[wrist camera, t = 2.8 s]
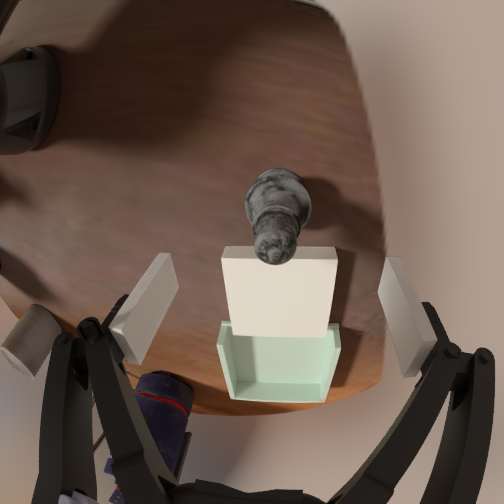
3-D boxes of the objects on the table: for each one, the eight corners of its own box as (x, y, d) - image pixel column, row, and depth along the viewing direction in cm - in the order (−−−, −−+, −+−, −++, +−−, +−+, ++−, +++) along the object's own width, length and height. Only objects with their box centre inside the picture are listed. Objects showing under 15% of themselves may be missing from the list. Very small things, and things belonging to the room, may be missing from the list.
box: (221, 320, 37) (215, 342, 34) (338, 323, 35) (341, 345, 32) (234, 380, 46) (230, 398, 42) (323, 383, 44) (324, 402, 40)
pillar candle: (32, 318, 48) (1, 363, 35) (29, 295, 43) (-8, 344, 30) (62, 341, 50) (34, 389, 37) (62, 320, 45) (28, 375, 33)
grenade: (132, 373, 51) (85, 492, 26) (162, 362, 46) (111, 508, 21) (179, 404, 56) (147, 515, 30) (214, 397, 51) (184, 528, 26)
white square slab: (225, 245, 31) (221, 258, 29) (334, 246, 29) (337, 259, 27) (236, 321, 37) (233, 335, 35) (324, 323, 36) (325, 337, 33)
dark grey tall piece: (241, 175, 26) (211, 232, 16) (299, 158, 25) (309, 205, 15) (260, 226, 29) (245, 305, 19) (315, 212, 27) (329, 288, 17)
